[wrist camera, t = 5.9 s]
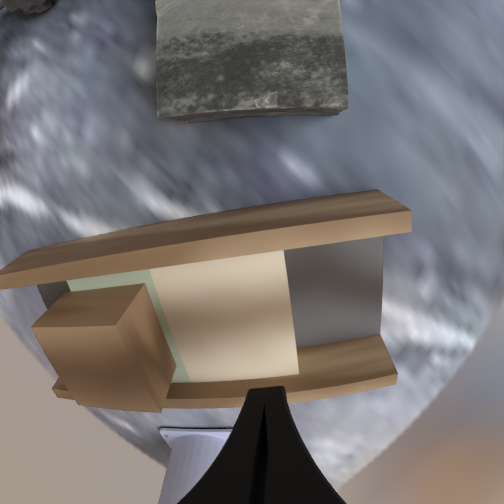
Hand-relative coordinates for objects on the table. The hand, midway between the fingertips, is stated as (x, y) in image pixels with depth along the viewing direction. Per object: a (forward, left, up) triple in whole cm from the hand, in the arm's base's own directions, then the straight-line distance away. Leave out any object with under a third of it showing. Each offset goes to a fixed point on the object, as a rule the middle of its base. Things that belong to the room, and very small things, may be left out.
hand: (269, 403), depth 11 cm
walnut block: (0, +9, -6) cm, 11 cm away
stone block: (+17, -3, -9) cm, 20 cm away
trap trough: (0, +5, -9) cm, 10 cm away
